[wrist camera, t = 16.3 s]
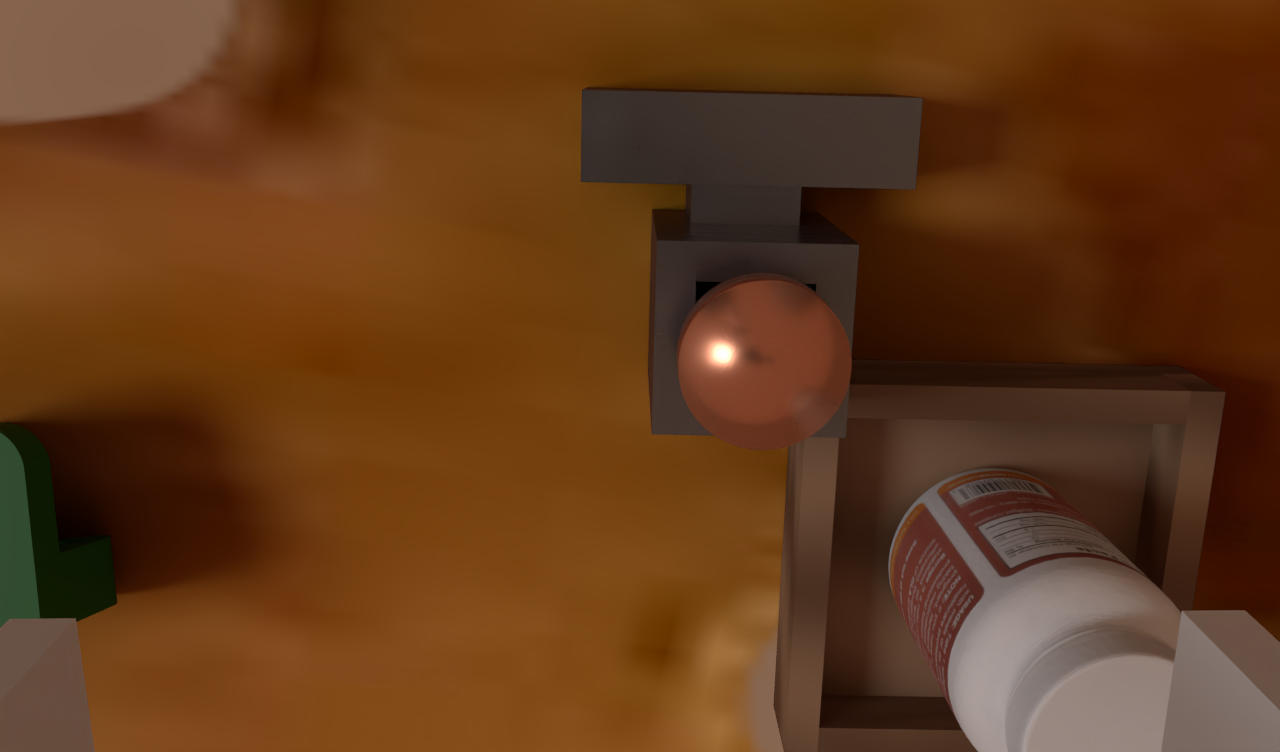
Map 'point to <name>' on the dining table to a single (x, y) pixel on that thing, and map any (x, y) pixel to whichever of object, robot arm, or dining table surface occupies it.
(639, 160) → the socket
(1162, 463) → the tray
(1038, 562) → the pill bottle
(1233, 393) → the dining table surface
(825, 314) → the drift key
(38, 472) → the clamp
